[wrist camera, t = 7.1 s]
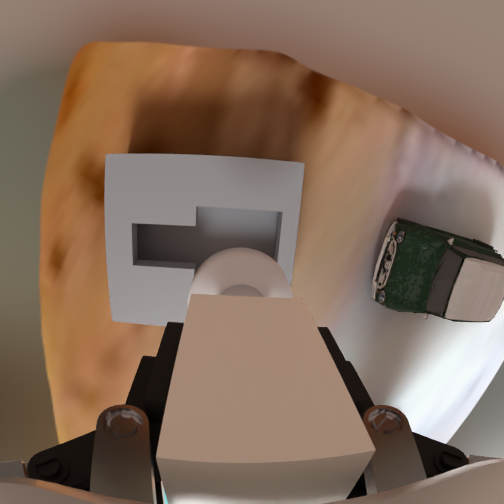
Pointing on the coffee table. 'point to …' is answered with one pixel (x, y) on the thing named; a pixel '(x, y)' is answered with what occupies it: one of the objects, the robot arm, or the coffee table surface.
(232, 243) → the keyhole board
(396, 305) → the miniature car
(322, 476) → the keyhole peg
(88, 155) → the coffee table surface
